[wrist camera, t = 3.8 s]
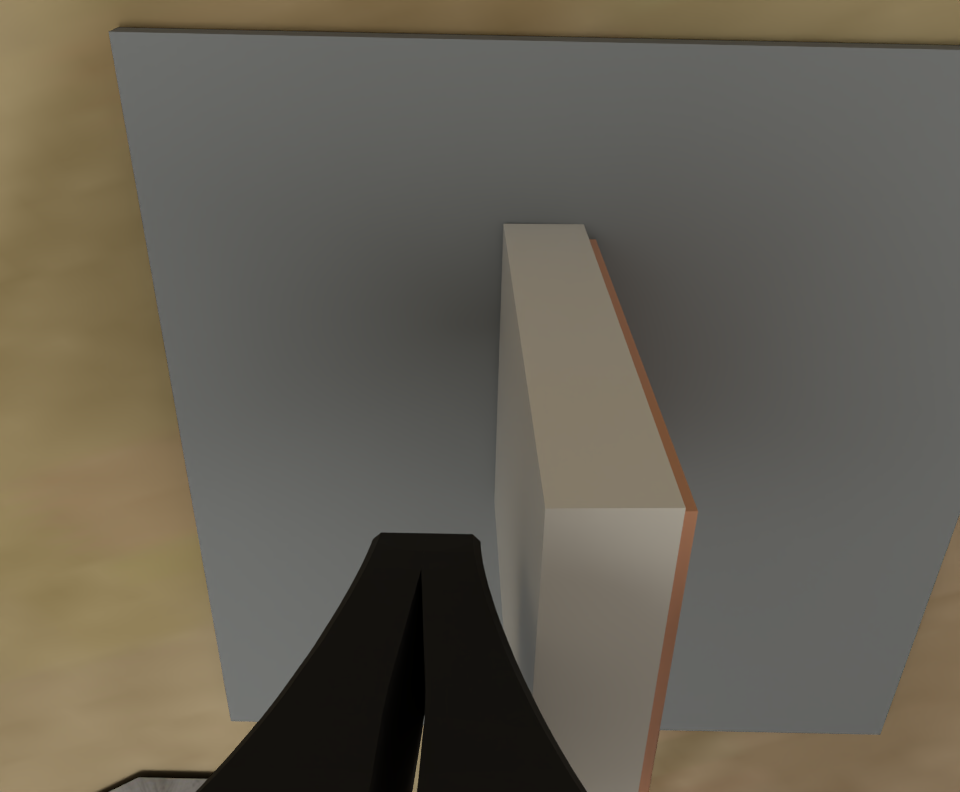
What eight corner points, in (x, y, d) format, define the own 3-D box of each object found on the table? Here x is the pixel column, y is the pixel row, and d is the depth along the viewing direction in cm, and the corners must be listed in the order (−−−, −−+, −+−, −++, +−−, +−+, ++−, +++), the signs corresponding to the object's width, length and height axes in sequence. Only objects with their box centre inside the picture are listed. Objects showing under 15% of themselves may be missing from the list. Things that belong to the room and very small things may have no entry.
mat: (1110, 48, 15) (1125, 53, 14) (874, 721, 23) (880, 734, 23) (117, 27, 15) (108, 31, 14) (234, 708, 23) (231, 721, 23)
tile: (595, 224, 16) (705, 508, 9) (571, 500, 19) (640, 867, 12) (503, 223, 16) (545, 508, 9) (494, 500, 19) (520, 869, 12)
